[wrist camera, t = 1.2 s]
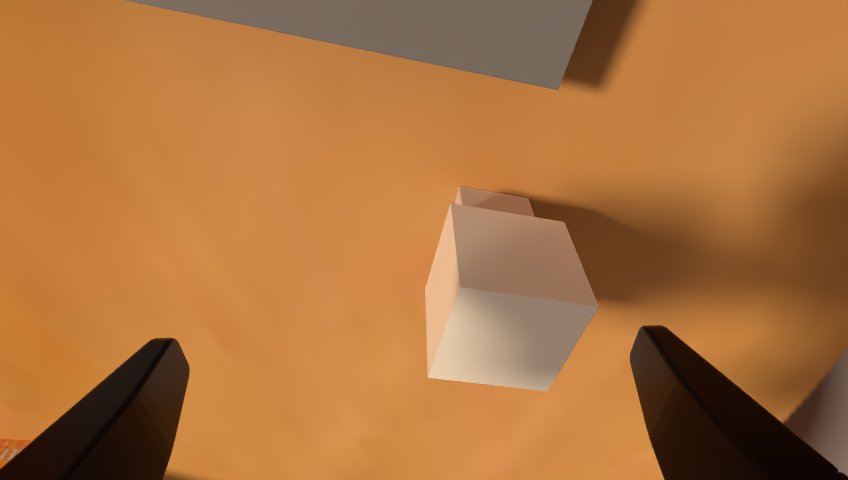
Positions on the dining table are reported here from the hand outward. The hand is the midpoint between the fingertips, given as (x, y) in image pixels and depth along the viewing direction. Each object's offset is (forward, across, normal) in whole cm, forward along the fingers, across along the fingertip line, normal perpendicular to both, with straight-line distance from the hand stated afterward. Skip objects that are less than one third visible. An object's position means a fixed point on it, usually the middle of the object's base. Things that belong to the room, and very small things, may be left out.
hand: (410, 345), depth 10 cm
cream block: (+14, -4, +7) cm, 16 cm away
